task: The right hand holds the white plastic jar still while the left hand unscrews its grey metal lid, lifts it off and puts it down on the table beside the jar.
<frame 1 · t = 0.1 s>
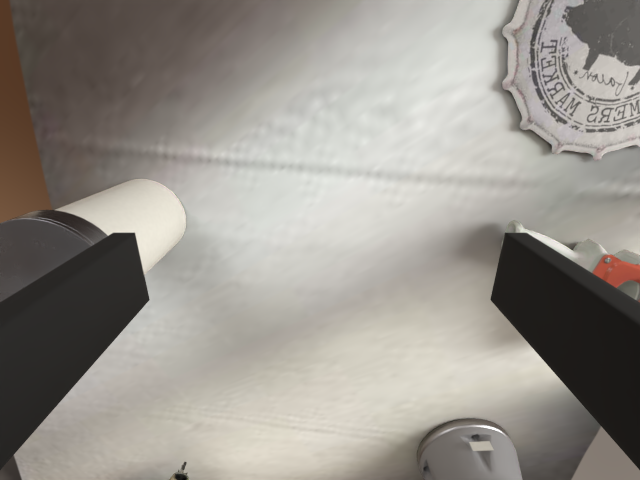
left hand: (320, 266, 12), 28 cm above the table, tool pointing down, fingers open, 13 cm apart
lid: (49, 280, 26), point 16 cm above the table, screwed on, not yet turned
tape dispenser: (575, 267, 43), on the table
jar: (148, 216, 41), on the table
decorative wall hanging: (636, 0, 33), on the table
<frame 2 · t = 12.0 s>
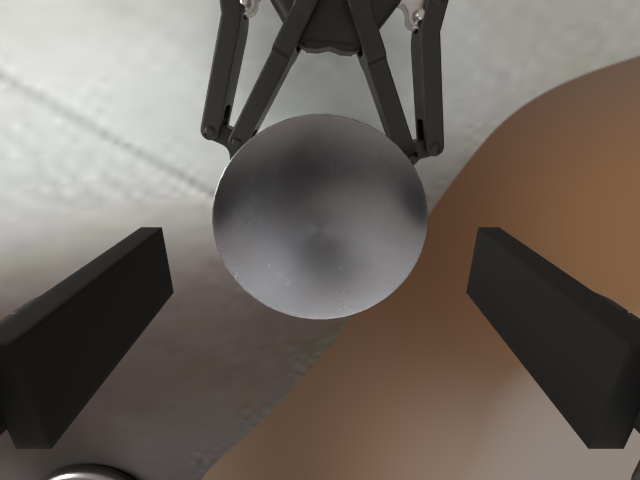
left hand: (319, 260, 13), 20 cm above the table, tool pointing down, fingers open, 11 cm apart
right hand: (316, 239, 27), fingers closed on jar, 9 cm apart
lid: (319, 226, 16), point 16 cm above the table, screwed on, not yet turned
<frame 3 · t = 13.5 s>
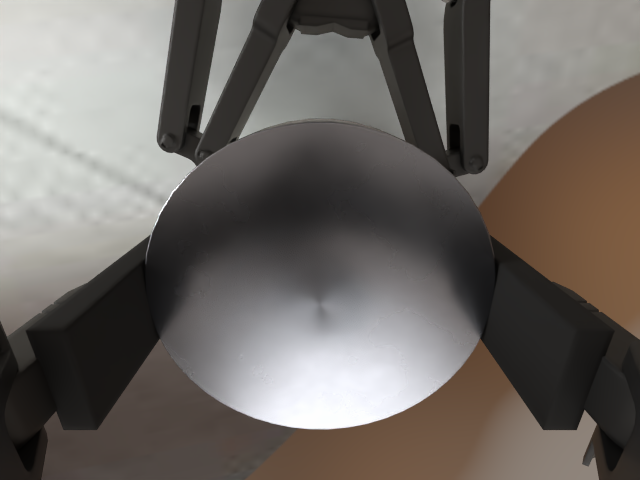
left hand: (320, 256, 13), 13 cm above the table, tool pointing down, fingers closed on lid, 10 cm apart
right hand: (314, 279, 21), fingers closed on jar, 9 cm apart
lid: (320, 298, 10), point 16 cm above the table, screwed on, not yet turned, touching left hand
when the left hand's fingers open (13 cm above the table, at t = 15.4 s): lid stays where it is, point 16 cm above the table.
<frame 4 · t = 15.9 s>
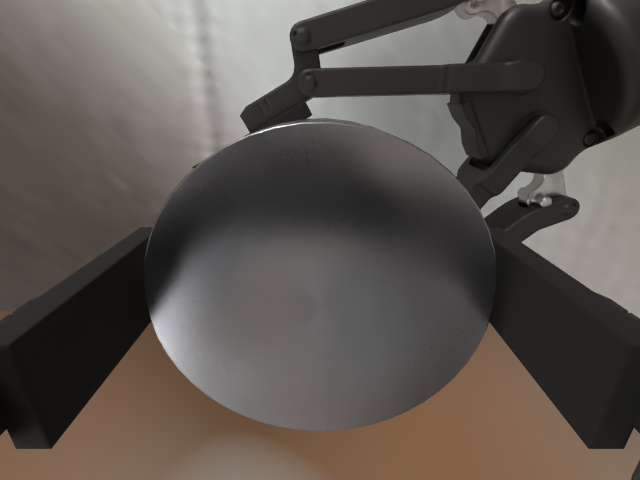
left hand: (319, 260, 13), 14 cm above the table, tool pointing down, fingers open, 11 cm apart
right hand: (254, 242, 20), fingers closed on jar, 9 cm apart
lid: (320, 299, 10), point 16 cm above the table, turned 111° so far, risen 0.3 cm, still on its thread
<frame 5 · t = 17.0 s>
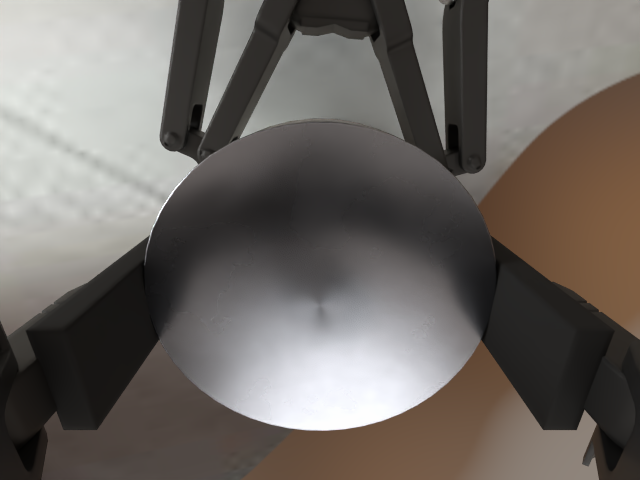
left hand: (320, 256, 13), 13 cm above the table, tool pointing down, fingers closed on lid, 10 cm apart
right hand: (314, 276, 21), fingers closed on jar, 9 cm apart
lid: (320, 299, 10), point 16 cm above the table, turned 111° so far, risen 0.3 cm, still on its thread, touching left hand
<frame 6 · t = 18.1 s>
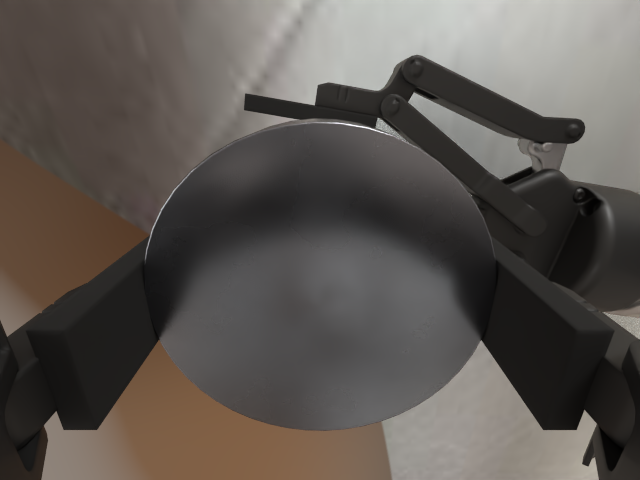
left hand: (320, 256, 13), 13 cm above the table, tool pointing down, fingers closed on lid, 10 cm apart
right hand: (242, 194, 19), fingers closed on jar, 9 cm apart
lid: (320, 299, 10), point 17 cm above the table, off its thread, touching left hand
when the left hand's fingers open (0 cm above the table, at t = 24.2 s): lid drops 2 cm, point 2 cm above the table.
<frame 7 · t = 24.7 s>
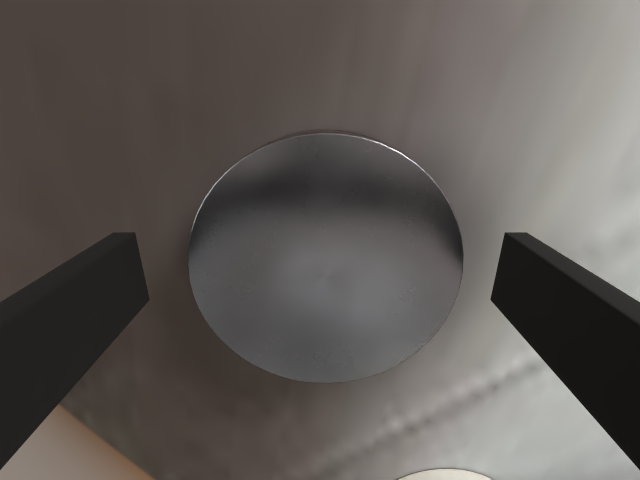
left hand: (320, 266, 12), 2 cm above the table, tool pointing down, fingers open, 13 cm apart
lid: (325, 272, 13), point 2 cm above the table, off its thread
when the right hand's fingers open (6 cm above the table, at t = 25.3 s): jar stays where it is, on the table.
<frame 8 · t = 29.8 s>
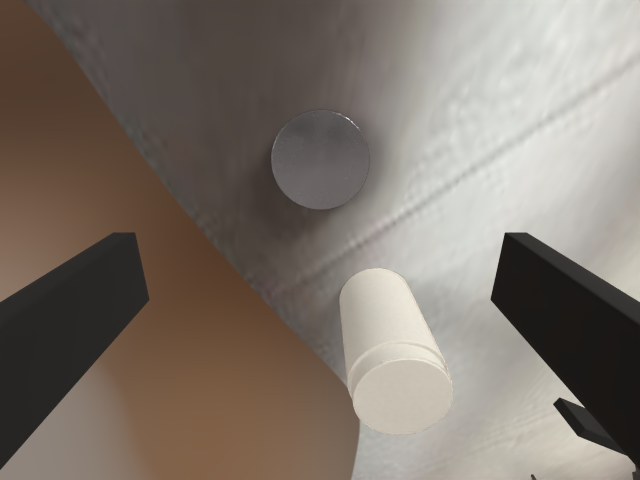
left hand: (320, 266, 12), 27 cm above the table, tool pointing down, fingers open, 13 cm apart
lid: (320, 162, 35), point 2 cm above the table, off its thread
jar: (374, 299, 44), on the table
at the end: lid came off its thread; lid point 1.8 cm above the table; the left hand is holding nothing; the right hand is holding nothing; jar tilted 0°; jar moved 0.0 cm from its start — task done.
